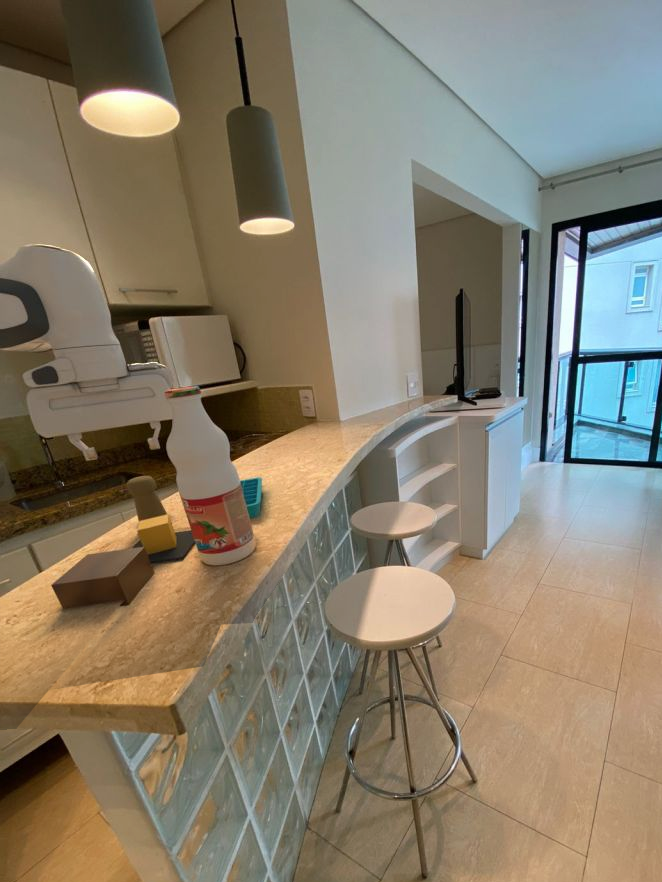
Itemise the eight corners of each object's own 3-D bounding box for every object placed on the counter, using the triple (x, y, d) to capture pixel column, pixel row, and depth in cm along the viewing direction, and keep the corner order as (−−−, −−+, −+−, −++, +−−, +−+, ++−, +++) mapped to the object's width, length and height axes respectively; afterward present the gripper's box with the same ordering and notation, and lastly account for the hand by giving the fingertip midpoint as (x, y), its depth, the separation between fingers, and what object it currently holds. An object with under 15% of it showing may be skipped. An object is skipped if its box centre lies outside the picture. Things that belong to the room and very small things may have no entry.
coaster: (113, 569, 70) (112, 567, 70) (143, 538, 82) (143, 536, 81) (183, 559, 71) (182, 557, 71) (204, 530, 82) (203, 528, 82)
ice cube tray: (264, 487, 104) (261, 476, 102) (263, 517, 85) (260, 503, 84) (216, 496, 101) (213, 485, 100) (205, 528, 83) (201, 514, 82)
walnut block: (65, 614, 59) (50, 585, 57) (99, 580, 67) (87, 554, 65) (128, 605, 59) (116, 575, 57) (154, 572, 68) (144, 546, 66)
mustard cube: (146, 555, 73) (136, 530, 71) (148, 544, 77) (139, 521, 75) (176, 547, 75) (167, 522, 73) (176, 537, 79) (168, 514, 77)
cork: (159, 532, 84) (141, 481, 79) (134, 533, 85) (114, 483, 81) (177, 519, 89) (161, 472, 85) (153, 520, 90) (136, 473, 86)
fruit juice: (266, 550, 71) (224, 383, 60) (212, 573, 65) (156, 394, 54) (243, 535, 78) (202, 383, 67) (193, 555, 72) (139, 392, 61)
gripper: (167, 360, 70) (189, 439, 75) (22, 375, 63) (58, 461, 68) (167, 360, 65) (191, 445, 70) (8, 376, 57) (48, 470, 63)
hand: (124, 453), depth 69 cm, fingers open, 8 cm apart
